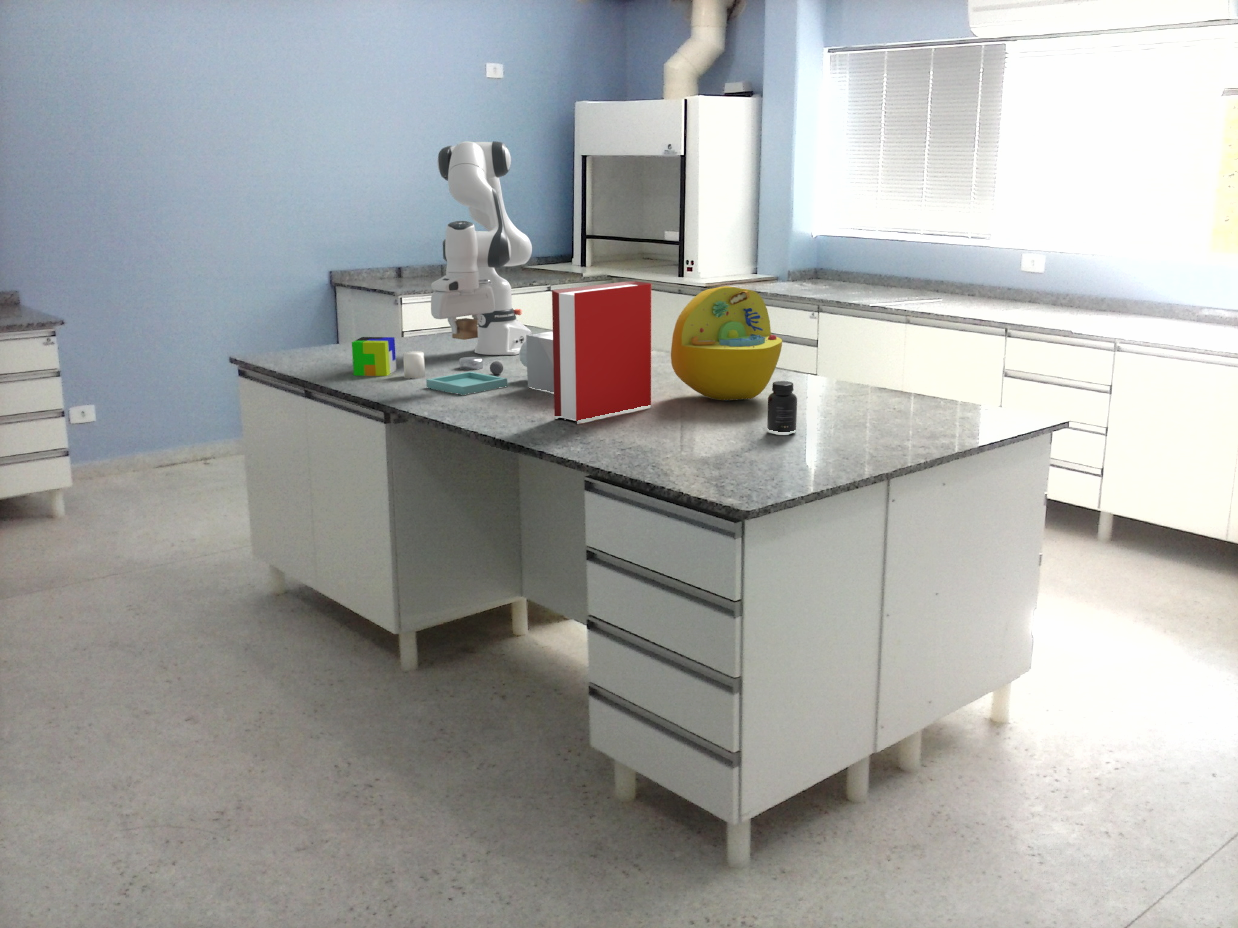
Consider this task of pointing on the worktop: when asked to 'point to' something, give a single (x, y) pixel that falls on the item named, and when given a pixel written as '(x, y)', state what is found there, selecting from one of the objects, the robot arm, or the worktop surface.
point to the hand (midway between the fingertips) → (464, 332)
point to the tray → (466, 382)
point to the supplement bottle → (782, 407)
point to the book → (601, 349)
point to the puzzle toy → (374, 356)
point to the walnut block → (466, 329)
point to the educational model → (725, 344)
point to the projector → (538, 360)
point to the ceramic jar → (414, 364)
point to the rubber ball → (496, 368)
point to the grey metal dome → (471, 363)
